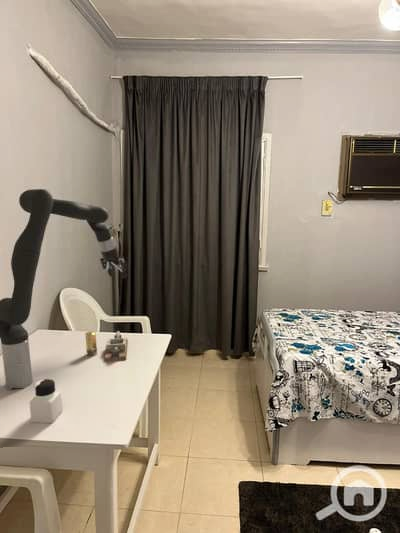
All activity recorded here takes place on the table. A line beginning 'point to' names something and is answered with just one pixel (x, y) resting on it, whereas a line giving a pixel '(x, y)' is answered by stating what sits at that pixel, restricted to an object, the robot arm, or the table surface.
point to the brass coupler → (91, 343)
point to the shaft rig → (116, 348)
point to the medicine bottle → (45, 402)
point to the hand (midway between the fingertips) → (118, 276)
